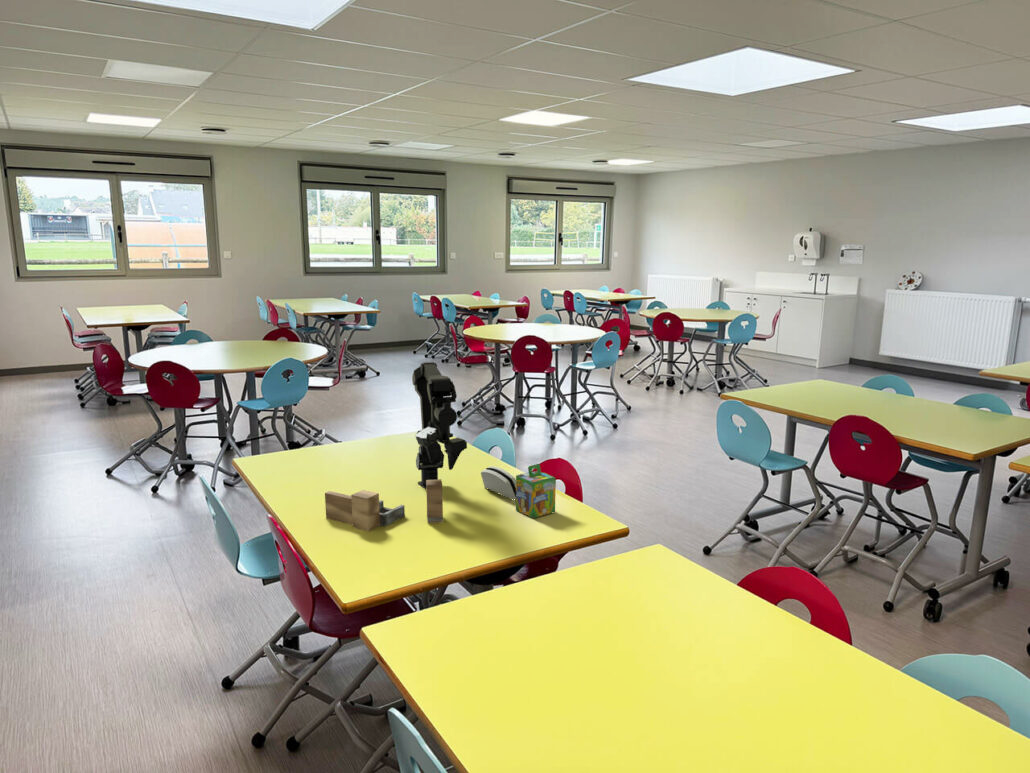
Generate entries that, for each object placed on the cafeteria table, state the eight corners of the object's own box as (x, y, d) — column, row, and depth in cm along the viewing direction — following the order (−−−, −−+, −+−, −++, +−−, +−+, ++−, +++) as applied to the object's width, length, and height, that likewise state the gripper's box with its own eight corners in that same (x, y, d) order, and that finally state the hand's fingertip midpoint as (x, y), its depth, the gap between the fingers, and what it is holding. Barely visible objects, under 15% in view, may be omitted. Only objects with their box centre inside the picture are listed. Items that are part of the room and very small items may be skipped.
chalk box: (533, 519, 210) (533, 472, 207) (514, 510, 217) (514, 465, 214) (556, 512, 216) (557, 466, 213) (537, 504, 223) (538, 459, 220)
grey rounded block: (526, 497, 229) (518, 472, 225) (515, 505, 226) (506, 479, 222) (495, 484, 242) (487, 460, 238) (485, 491, 239) (477, 467, 235)
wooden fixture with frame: (355, 504, 222) (354, 474, 220) (404, 516, 212) (403, 484, 211) (322, 519, 210) (320, 488, 208) (373, 532, 200) (371, 499, 198)
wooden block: (426, 517, 211) (426, 480, 209) (442, 517, 212) (441, 479, 210) (427, 523, 207) (426, 484, 205) (443, 522, 208) (442, 484, 205)
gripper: (401, 416, 217) (402, 464, 221) (439, 428, 204) (439, 479, 208) (430, 410, 225) (430, 457, 228) (467, 422, 212) (468, 471, 215)
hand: (441, 466), depth 220 cm, fingers open, 9 cm apart
